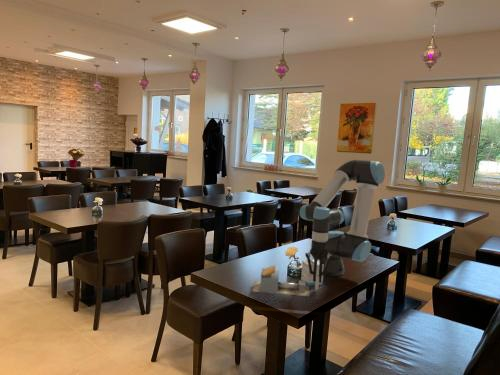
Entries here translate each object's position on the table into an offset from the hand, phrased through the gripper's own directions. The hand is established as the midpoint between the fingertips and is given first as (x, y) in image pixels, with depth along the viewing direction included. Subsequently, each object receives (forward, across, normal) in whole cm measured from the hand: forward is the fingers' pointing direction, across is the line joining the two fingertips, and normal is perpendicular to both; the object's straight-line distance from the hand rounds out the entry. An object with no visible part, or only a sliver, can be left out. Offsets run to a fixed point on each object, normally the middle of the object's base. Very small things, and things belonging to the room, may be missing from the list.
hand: (316, 288), depth 178 cm
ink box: (+3, +1, -12) cm, 12 cm away
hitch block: (+2, +22, 0) cm, 22 cm away
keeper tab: (-6, +23, 0) cm, 24 cm away
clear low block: (+2, +12, 0) cm, 12 cm away
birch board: (+3, +17, 0) cm, 17 cm away
